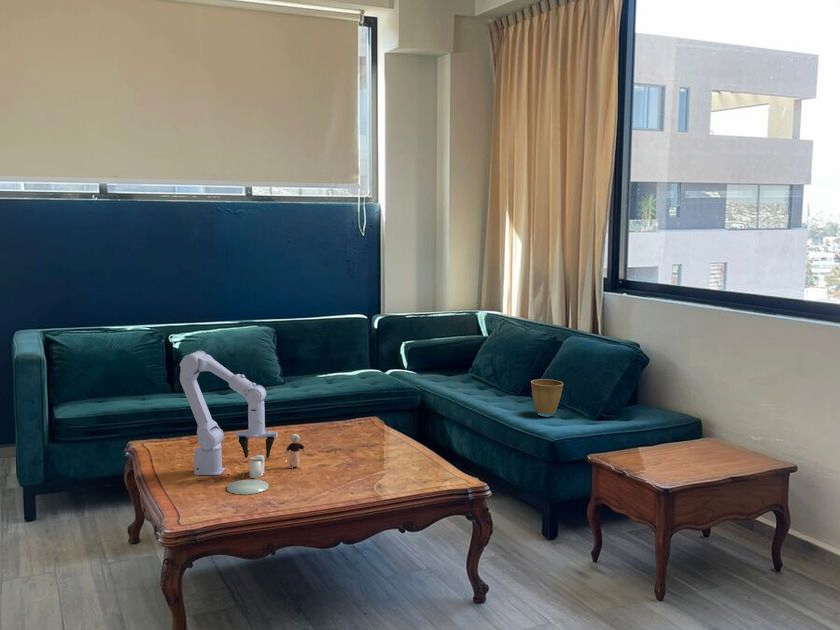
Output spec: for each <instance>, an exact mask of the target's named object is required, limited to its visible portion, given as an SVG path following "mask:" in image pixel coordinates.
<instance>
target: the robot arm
mask: <svg viewBox="0 0 840 630" xmlns="http://www.w3.org/2000/svg"><path fill="white" fill-rule="evenodd" d="M179 367H180V372H179V381H180V385H181V386H182V390H183V392H184V394H185V397H186V400H187V402H188V404H189V406H190V409H191V411H192V414H193V417H194V419H195V421H196V424H197V428H196V429H197V430H196V435H197V443H198V446H199V447H196V448H195V450H194V453H193V455H194V456H193V467H194V468H193V469H194V471H193V472H194V473H193V475H197V476H200V475H201V476H221V474H223V472H224V471H225V470H226V467H225V466H223V458H222V455H223V453H222V452H223V451H222V442H223V440H224V438H225V434H224V431H223V429H221V427H220V426H219V425H218V423H217V421H215V420H214V419H213V418H212V416H211V415H212V414H211V413H210V410H209V408H208V405H207V403H206V400H205V398H204V396H203V393H202V391H201V388H200V385H199V383H198V380H197V379H198V376H199V375H200V373H201V372H210V373H212V374H214V375H215V376H217V377H219V378H221V379H222V380H224V381H225V382H227V383H228V386H229V388H230V389H232V390H233V391H234V392H237V394H239V395H241V396H242V397H243V398H245V401H246V403H247V405H248V407H247V408H248V409H247V412H248V413H247V415H248V416H247V417H248V418H247V419H248V426H247V427H248V430H236V432H235V438H236V439H237V440H238V443H239V444H240V446H241V449H242V451H243V454H244V458H246V459H248V457H249V438H253V439H255V438H259V439H262V438H263V439H264V438H265V450H266V451H265V453H266V454H265V458H266V459H269V458H270V454H271V449H272V446H273V444H274V441H275V440H276V439H277V438H278V436H279V435H278V433H279V432H278V431H271V430H266V423H265V422H266V420H265V419H266V417H265V416H266V414H265V413H266V412H265V398H267V390H266V389H265V387H264V386H263V385H260V384H257V383H256V382H252V381H250V380H249V379H248V378H247V377H246V376H245V374H243V373H242V374H240V373H237V374H235V373H233V372H232V371H230V370H229V369H228V368H226V367H224V366H223V365H222V363H221V364H220V362H218V361H217V360H216V359H214V357H212V355H210V354H207V353H206V352H205V351H203V350H196V351H194V352H192V353H190V354H186V355H184V357H182V359H181V361H180V362H179Z"/></svg>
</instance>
